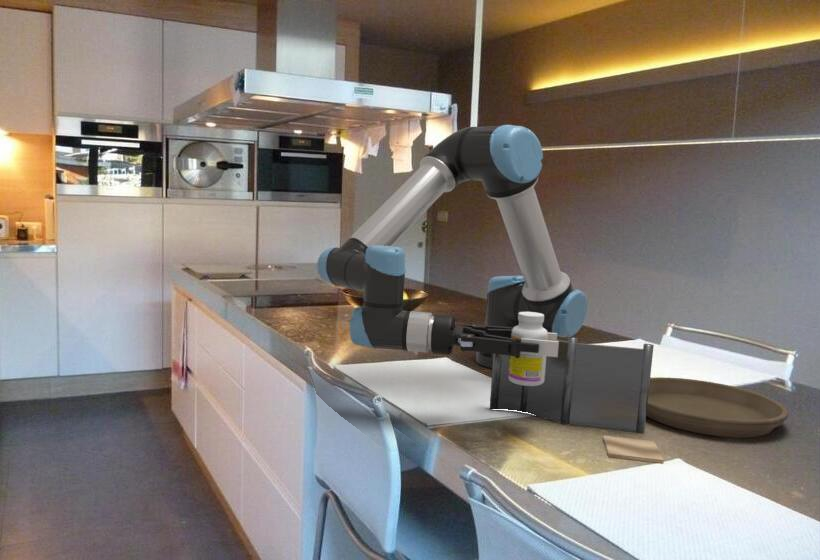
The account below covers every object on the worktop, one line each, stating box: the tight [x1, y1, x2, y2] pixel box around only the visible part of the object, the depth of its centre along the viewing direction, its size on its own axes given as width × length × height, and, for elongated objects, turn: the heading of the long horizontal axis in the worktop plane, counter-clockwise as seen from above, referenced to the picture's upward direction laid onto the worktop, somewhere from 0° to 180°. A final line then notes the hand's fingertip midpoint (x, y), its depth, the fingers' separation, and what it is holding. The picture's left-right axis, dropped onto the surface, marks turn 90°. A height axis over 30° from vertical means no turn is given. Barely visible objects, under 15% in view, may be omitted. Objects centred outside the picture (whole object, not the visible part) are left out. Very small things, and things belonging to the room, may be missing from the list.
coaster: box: [602, 435, 665, 464], centre depth 120 cm, size 9×9×1 cm
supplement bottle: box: [508, 312, 548, 386], centre depth 125 cm, size 7×7×13 cm
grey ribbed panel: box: [489, 336, 654, 434], centre depth 134 cm, size 6×30×17 cm, turn 80°
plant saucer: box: [646, 376, 789, 439], centre depth 143 cm, size 31×31×5 cm
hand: (557, 344), depth 124 cm, fingers closed on supplement bottle, 7 cm apart
